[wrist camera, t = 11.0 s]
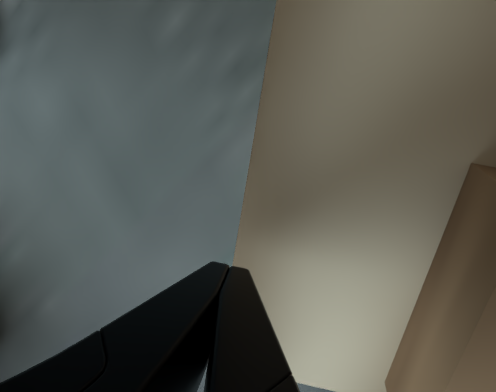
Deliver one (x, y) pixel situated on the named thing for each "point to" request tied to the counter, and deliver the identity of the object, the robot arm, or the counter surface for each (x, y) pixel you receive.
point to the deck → (361, 171)
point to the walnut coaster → (456, 302)
